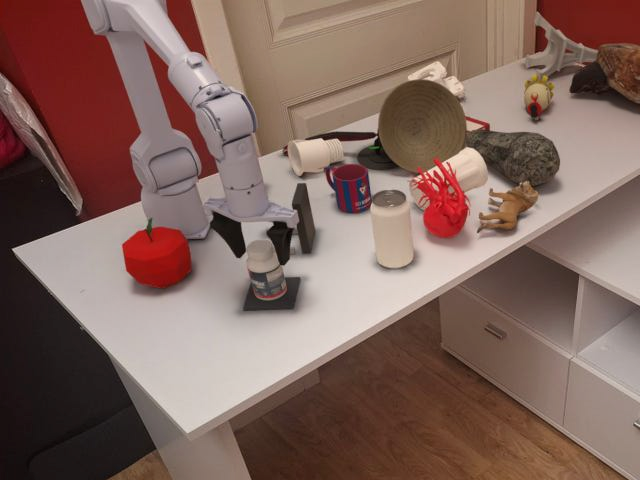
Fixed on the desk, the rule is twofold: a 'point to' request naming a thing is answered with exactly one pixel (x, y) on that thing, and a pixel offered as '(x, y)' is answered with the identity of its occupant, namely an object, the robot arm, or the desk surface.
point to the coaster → (281, 303)
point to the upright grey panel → (303, 219)
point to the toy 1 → (340, 137)
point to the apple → (157, 256)
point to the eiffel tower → (558, 51)
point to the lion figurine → (509, 206)
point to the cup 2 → (467, 174)
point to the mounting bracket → (436, 74)
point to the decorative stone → (517, 154)
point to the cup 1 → (350, 187)
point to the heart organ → (443, 202)
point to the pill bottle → (265, 271)
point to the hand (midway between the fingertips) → (263, 258)
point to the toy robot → (376, 157)
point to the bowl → (421, 124)
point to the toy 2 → (537, 95)
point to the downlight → (313, 154)
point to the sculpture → (611, 72)
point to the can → (392, 228)
